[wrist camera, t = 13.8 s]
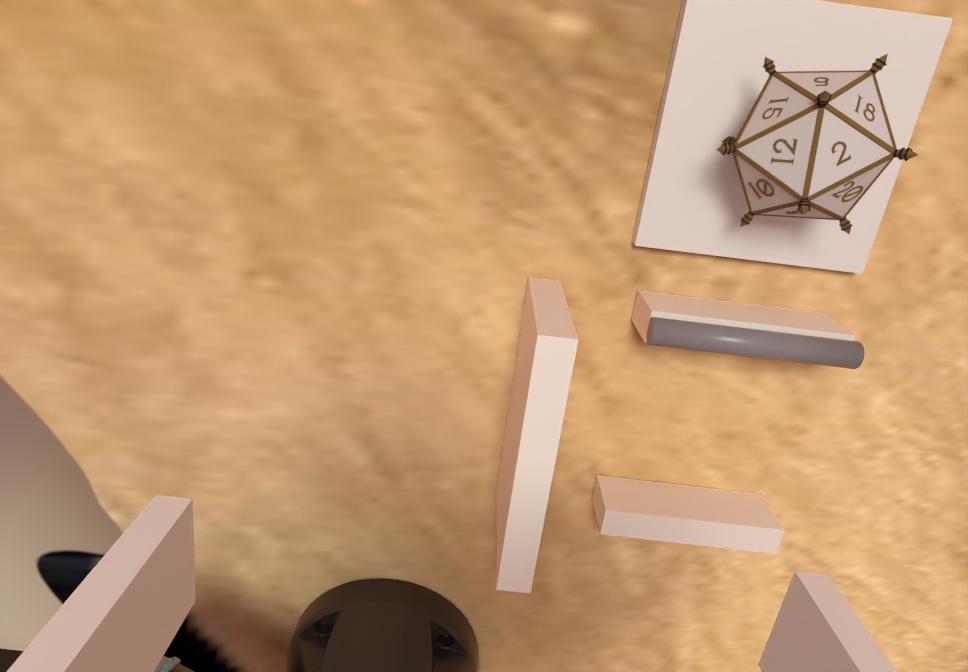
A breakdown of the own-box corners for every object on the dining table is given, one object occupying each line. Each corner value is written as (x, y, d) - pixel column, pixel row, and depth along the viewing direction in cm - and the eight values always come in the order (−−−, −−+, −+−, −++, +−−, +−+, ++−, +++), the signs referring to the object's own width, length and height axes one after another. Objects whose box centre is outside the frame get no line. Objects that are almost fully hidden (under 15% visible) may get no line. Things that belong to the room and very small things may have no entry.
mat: (853, 269, 39) (862, 273, 38) (631, 241, 39) (635, 245, 38) (940, 20, 34) (953, 18, 33) (685, -14, 34) (690, -17, 33)
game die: (783, 122, 39) (975, 129, 31) (719, 244, 38) (897, 281, 31) (724, 20, 33) (944, -1, 25) (648, 163, 32) (846, 186, 25)
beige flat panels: (753, 516, 46) (817, 624, 37) (496, 487, 46) (496, 589, 36) (822, 312, 40) (920, 380, 31) (528, 276, 40) (537, 334, 30)
